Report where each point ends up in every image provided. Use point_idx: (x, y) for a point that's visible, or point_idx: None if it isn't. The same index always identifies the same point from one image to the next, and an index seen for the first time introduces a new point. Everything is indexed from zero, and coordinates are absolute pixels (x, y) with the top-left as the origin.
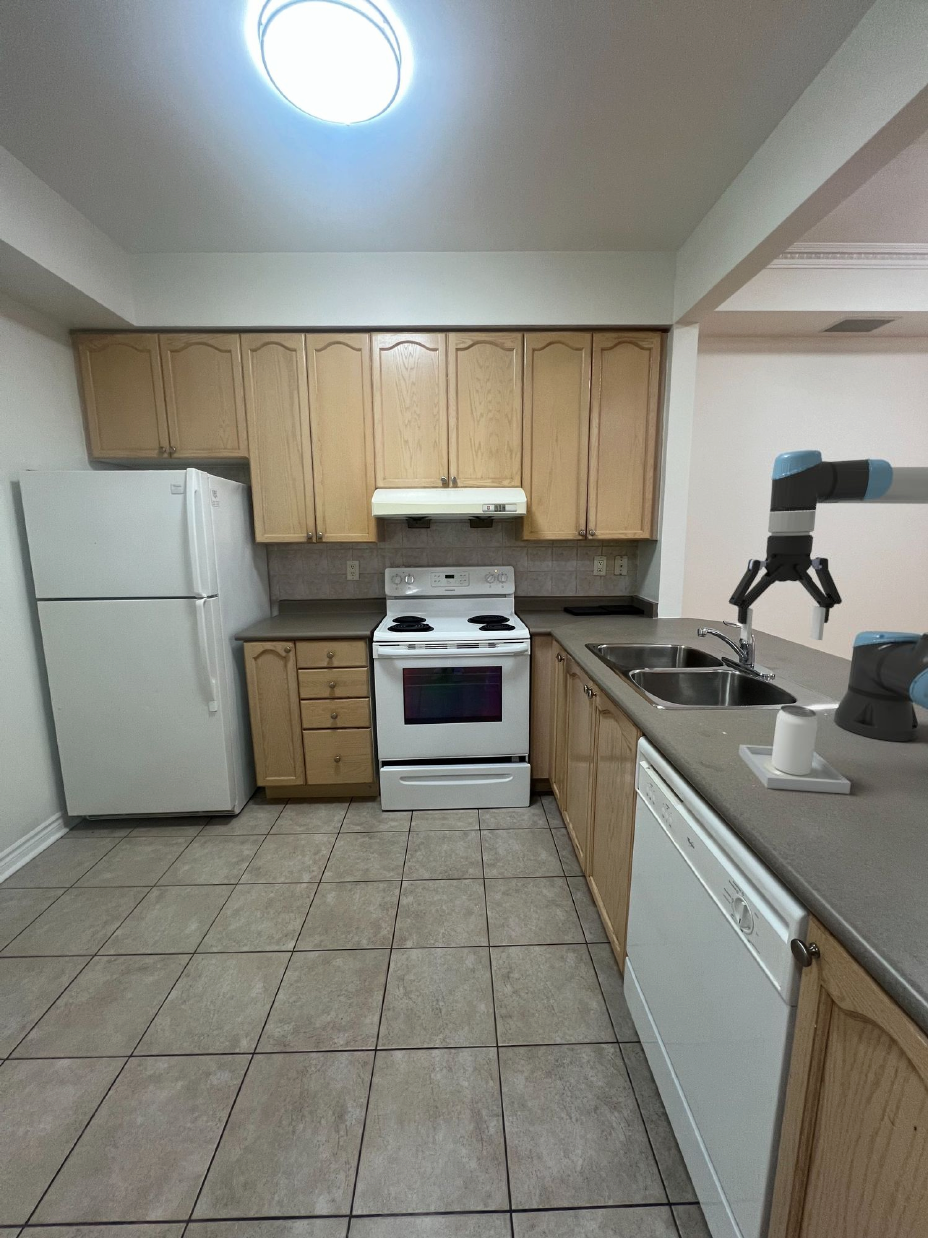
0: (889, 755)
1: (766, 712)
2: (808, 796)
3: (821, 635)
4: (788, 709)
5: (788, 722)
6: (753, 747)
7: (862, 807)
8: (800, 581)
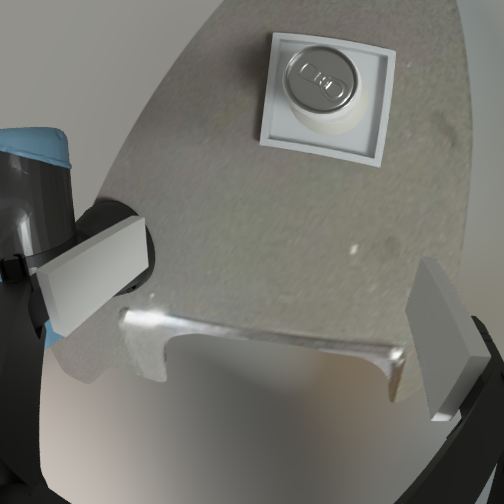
0: (144, 158)
1: (231, 315)
2: (342, 31)
3: (124, 222)
4: (334, 95)
5: (354, 63)
6: (360, 155)
7: (282, 7)
8: (32, 470)
